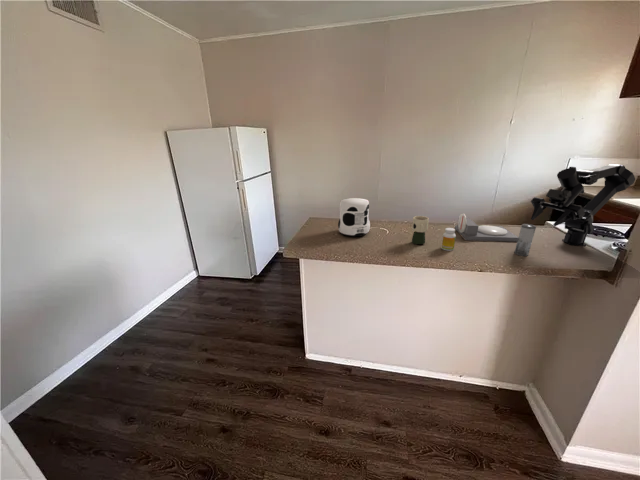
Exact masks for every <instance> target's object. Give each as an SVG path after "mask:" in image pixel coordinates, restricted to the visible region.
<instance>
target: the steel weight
mask: <svg viewBox="0 0 640 480" xmlns="http://www.w3.org/2000/svg"><path fill="white" fill-rule="evenodd" d="M536 229H537V226H536V225H534V224H530V223H522V224H521V225H520V230H519V233H518V236H517V237H518V240H517V242H516V245H515V249H514V254H515V255H517V256H519V257H527V256H529V254H530V249H531V246H532V243H533V239H534V237H535V233H536Z"/></svg>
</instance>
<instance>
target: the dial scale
mask: <svg viewBox="0 0 640 480" xmlns="http://www.w3.org/2000/svg"><path fill="white" fill-rule="evenodd" d="M454 229H455V231H456V232H457V233H458V234H459V233H460V234H459V235H460V236H461V235H462V236H461V237H462V238H463V239H464V240H465V241H483V242H484V241H485V242H489V241H491V242H516V243H517V240H518V237H519V236H517V235H516V234H515V233H513V232H512V231H510V230H508V229H507V228H505V227H504V226H502V225H488V224H487V225H485V224H484V225H478V224H477V223H476V222H475V221H474V220H472V219H471V218H470V217H467V216H466V214H465V213H461V214H459V217H458V220H457V224H455V226H454Z"/></svg>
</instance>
